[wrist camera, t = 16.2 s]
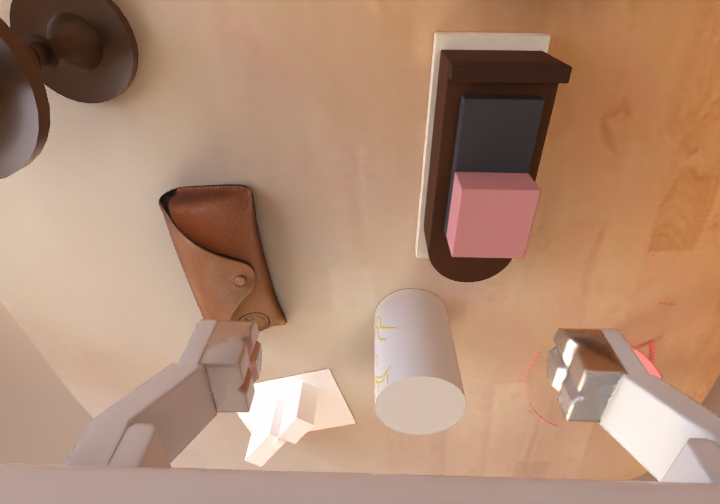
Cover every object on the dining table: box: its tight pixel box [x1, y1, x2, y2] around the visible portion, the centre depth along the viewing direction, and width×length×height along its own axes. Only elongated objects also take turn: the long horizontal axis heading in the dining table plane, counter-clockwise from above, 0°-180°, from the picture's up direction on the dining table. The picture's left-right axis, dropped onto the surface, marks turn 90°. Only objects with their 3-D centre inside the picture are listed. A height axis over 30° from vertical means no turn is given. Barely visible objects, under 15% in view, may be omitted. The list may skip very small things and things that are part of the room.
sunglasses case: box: [159, 185, 287, 331], centre depth 45 cm, size 18×7×7 cm, turn 8°
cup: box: [375, 289, 466, 435], centre depth 45 cm, size 8×8×12 cm
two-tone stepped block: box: [444, 95, 545, 258], centre depth 32 cm, size 11×5×4 cm, turn 179°
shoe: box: [415, 32, 572, 282], centre depth 37 cm, size 20×8×8 cm, turn 0°
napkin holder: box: [236, 369, 356, 467], centre depth 57 cm, size 15×11×6 cm
